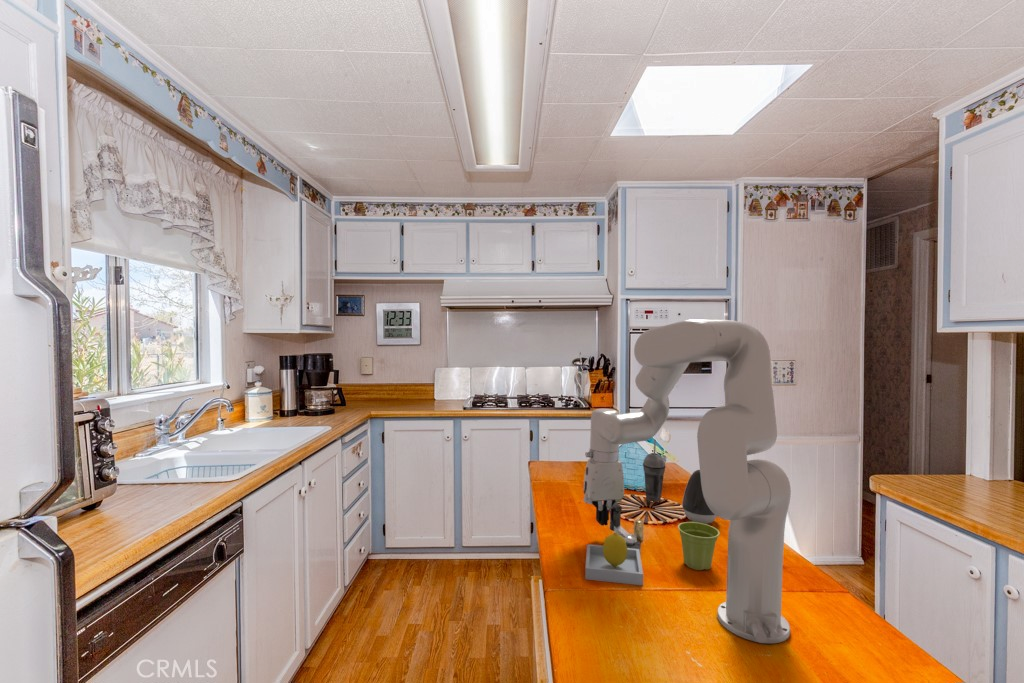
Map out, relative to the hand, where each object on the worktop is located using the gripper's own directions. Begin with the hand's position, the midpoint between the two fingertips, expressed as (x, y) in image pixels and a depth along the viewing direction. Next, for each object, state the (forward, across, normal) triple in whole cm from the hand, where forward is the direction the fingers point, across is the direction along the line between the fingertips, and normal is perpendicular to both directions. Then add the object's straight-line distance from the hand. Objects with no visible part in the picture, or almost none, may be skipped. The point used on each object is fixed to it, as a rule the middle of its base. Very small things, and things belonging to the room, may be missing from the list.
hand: (602, 523), depth 132 cm
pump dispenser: (+4, +34, +6) cm, 35 cm away
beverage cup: (+5, +30, +24) cm, 38 cm away
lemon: (+4, -4, -16) cm, 17 cm away
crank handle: (+2, +4, -4) cm, 6 cm away
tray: (+4, -4, -16) cm, 17 cm away
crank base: (+4, +5, -6) cm, 9 cm away
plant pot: (+4, +16, -18) cm, 25 cm away
